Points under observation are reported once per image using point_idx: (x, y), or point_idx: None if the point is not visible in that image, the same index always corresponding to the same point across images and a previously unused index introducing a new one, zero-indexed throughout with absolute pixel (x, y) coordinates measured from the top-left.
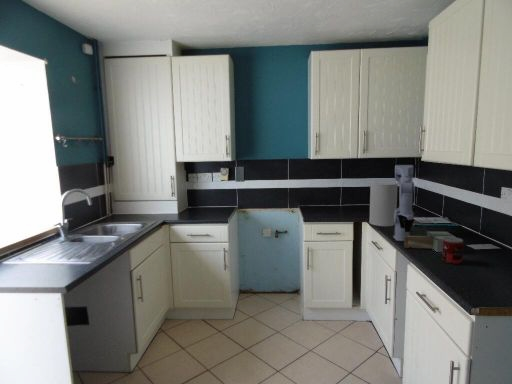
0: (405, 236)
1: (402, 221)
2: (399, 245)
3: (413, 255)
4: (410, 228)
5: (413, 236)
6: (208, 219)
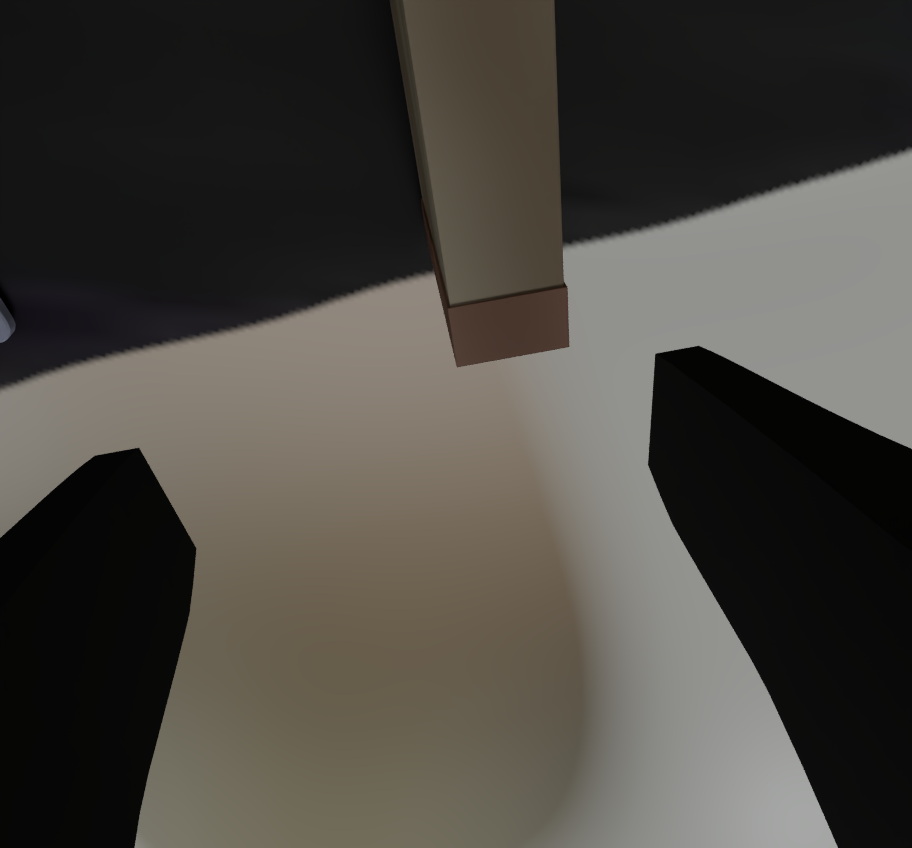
0: (538, 349)
1: (73, 793)
2: (306, 305)
3: (885, 118)
4: (815, 410)
5: (496, 109)
6: None
